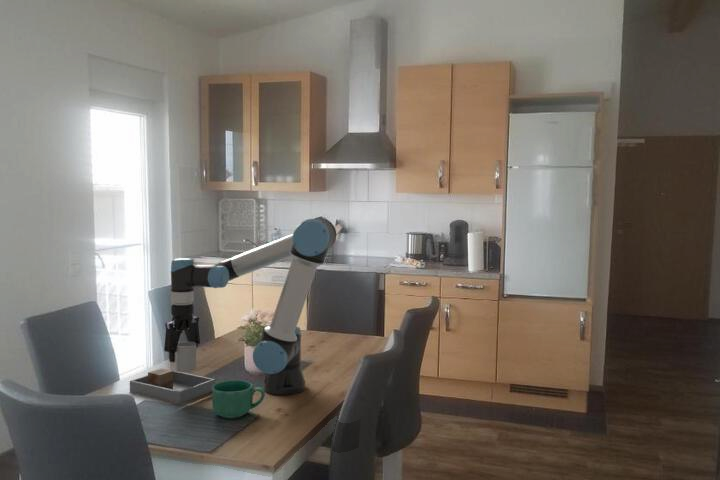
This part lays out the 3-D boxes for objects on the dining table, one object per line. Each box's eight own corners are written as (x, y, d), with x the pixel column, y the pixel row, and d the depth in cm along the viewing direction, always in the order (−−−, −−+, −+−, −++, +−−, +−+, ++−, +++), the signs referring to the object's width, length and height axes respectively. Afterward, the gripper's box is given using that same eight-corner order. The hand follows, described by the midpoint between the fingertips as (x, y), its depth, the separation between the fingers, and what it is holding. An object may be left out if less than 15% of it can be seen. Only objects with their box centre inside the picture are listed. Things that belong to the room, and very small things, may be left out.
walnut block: (173, 387, 223) (172, 370, 223) (160, 391, 218) (160, 375, 218) (161, 384, 226) (160, 368, 226) (148, 388, 221) (147, 372, 220)
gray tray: (215, 391, 221) (215, 379, 221) (180, 405, 206) (179, 392, 206) (166, 380, 232) (166, 369, 232) (129, 393, 218) (129, 380, 217)
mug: (207, 421, 192) (207, 391, 192) (217, 407, 205) (217, 379, 204) (260, 422, 192) (260, 392, 191) (267, 408, 205) (267, 380, 204)
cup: (189, 373, 211) (189, 347, 210) (163, 370, 214) (163, 344, 213) (200, 367, 218) (200, 342, 217) (174, 364, 221) (174, 340, 220)
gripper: (195, 297, 225) (195, 359, 227) (152, 306, 207) (152, 373, 209) (210, 299, 221) (210, 362, 223) (168, 308, 204) (168, 377, 206)
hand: (182, 367), depth 216 cm, fingers closed on cup, 7 cm apart
